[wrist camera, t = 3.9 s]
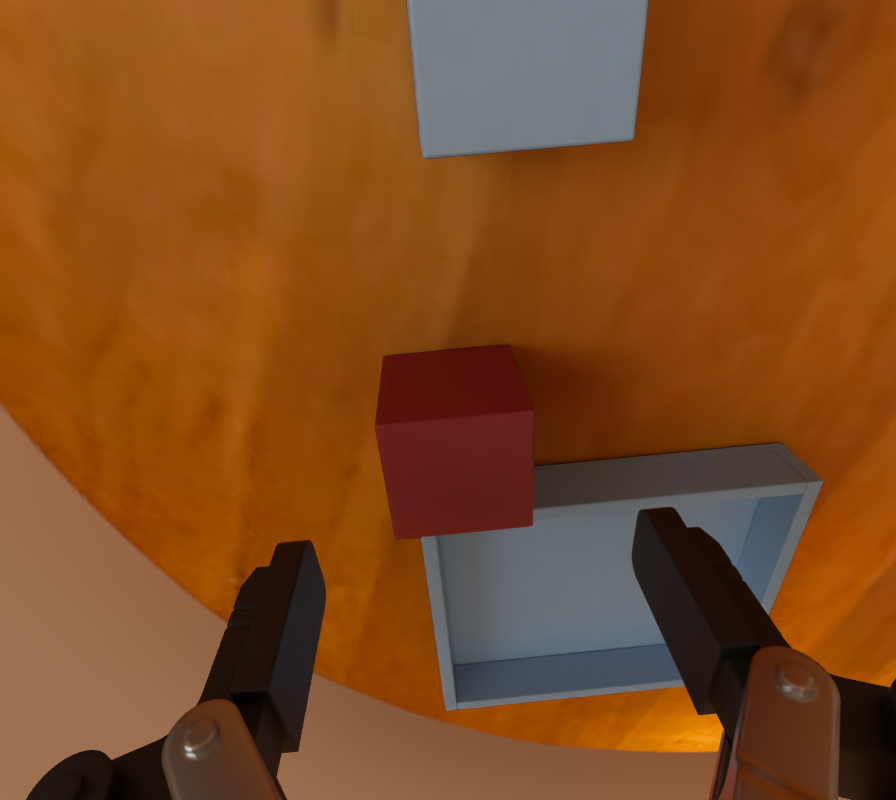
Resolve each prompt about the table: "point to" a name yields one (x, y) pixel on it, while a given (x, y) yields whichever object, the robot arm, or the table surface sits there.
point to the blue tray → (601, 571)
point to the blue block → (525, 73)
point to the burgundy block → (456, 442)
